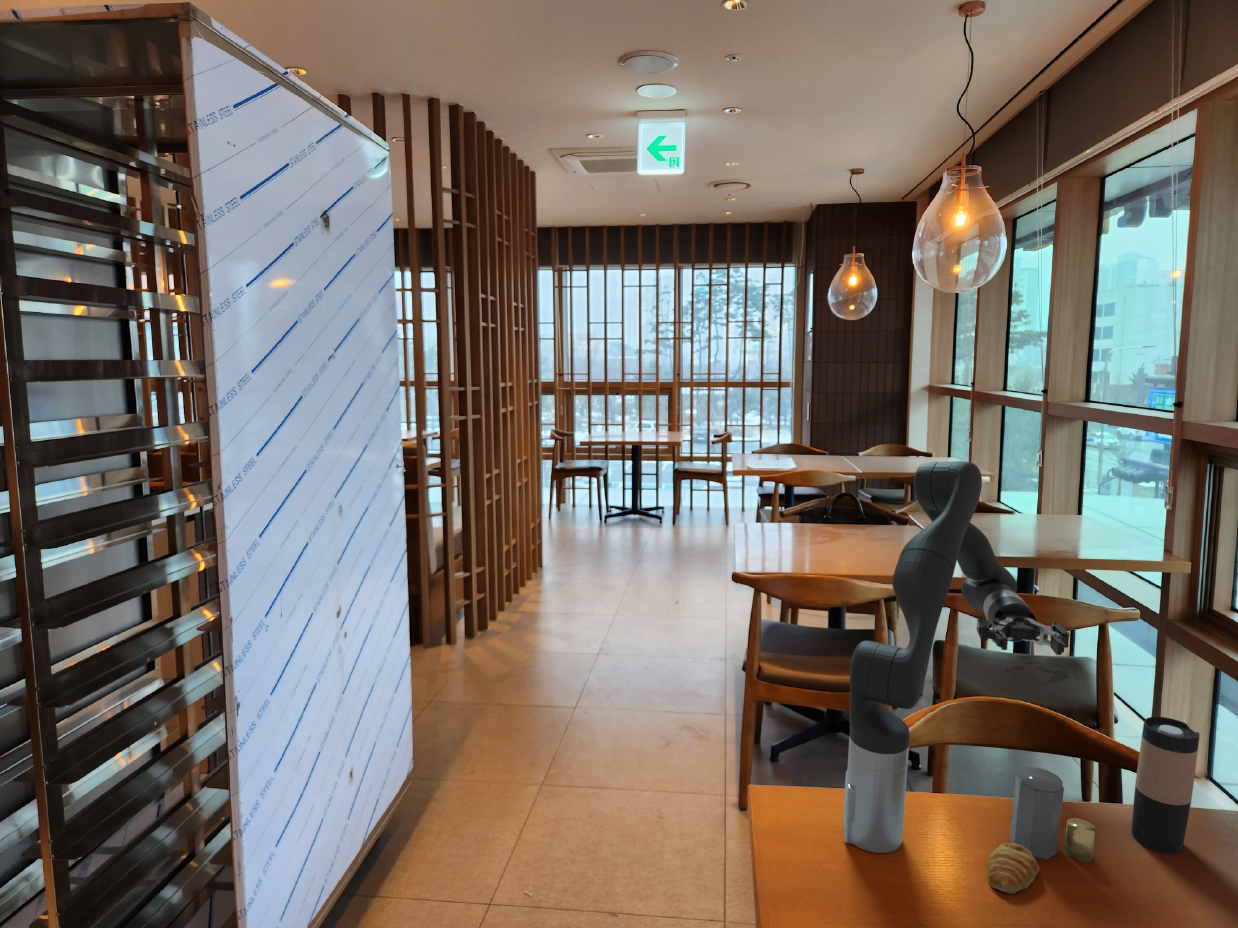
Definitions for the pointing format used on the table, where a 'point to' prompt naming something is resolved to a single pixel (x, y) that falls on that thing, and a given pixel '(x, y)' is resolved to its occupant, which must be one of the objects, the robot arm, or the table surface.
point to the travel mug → (1164, 784)
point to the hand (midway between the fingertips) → (1032, 647)
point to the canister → (1037, 811)
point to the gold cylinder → (1079, 839)
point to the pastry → (1011, 868)
